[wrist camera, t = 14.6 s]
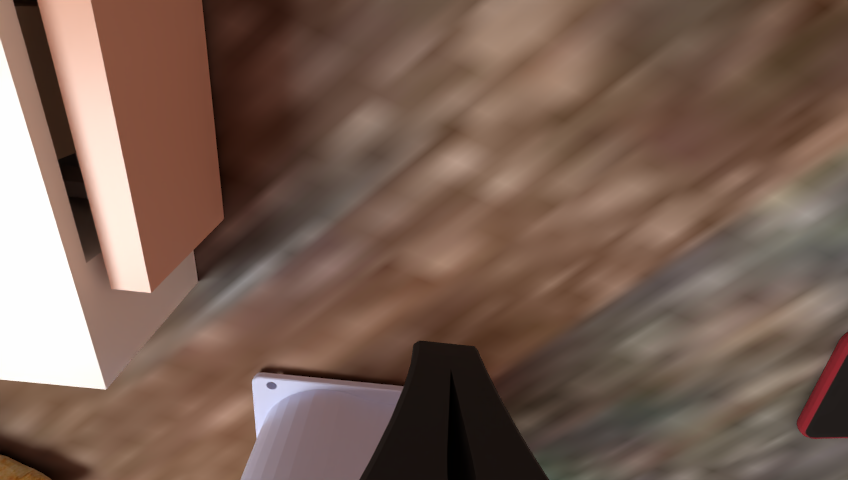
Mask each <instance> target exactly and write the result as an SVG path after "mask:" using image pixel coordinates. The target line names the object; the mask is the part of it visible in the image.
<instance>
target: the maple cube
mask: <svg viewBox="0 0 848 480" xmlns="http://www.w3.org/2000/svg"><path fill="white" fill-rule="evenodd" d="M13 2H14V6H15V10H16V13H17V17H18V20H19V24H20V28H21V31H22V35H23V38H24V42H25V45H26V49H27V53H28V56H29V60H30V63H31V67H32V70H33V74H34V78H35V81H36V85H37V88H38V92H39V95H40V99H41V103H42V106H43V110H44V113H45V117H46V121H47V124H48V128H49V131H50V135H51V138H52V142H53V146H54V149H55V153H56V156H57V160H59V159H61V158H63V157H66V156H68V155H71V154H73V153H76V150H75V146H74V142H73V138H72V134H71V130H70V126H69V122H68V118H67V114H66V111H65V107H64V103H63V99H62V95H61V91H60V87H59V83H58V79H57V76H56V72H55V68H54V64H53V60H52V56H51V52H50V48H49V44H48V40H47V37H46V33H45V29H44V25H43V21H42V17H41V13H40V9H39V5H38V1H37V0H13Z"/></svg>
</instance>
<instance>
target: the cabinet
mask: <svg viewBox="0 0 848 480" xmlns="http://www.w3.org/2000/svg"><path fill="white" fill-rule="evenodd" d="M197 282H198V278H197V271H196V264H195V257H194V250H193V251H192V252H191V253H190V254H189V255H188V256H187V257H186V258H185V259H184V260H183V261H182V262H181V263H180V264H179V265H178V266H177V267H176V268H175V269H174V270H173V271H172V272H171V273H170V274H169V275H168V276H167V277H166V278H165V279H164V280H163V281H162V282H161V283H160V285H159V286H158V287H157V288H156V289H155V290H154V291H153V292H152V293H146V292H136V291H127V290H117V289H111V286H110V282H109V278H108V274H107V270H106V266H105V263H104V259H103V255H102V251H101V247H100V243H99V239H98V235H97V231H96V227H95V224H94V220H93V216H92V212H91V208H90V204H89V200H88V199H86V198H77V197H68V196H67V192H66V189H65V185H64V181H63V178H62V174H61V171H60V167H59V163H58V160H57V156H56V153H55V149H54V146H53V142H52V138H51V135H50V131H49V128H48V124H47V121H46V117H45V113H44V110H43V106H42V103H41V99H40V95H39V92H38V88H37V85H36V81H35V78H34V74H33V70H32V67H31V63H30V60H29V56H28V53H27V49H26V45H25V42H24V38H23V35H22V31H21V28H20V24H19V20H18V17H17V13H16V10H15V6H14V2H13V0H0V379H2V380H13V381H23V382H34V383H44V384H55V385H65V386H75V387H86V388H96V389H107V388H108V387H109V386H110V385H111V383H112V382H113V381H114V380H115V379H116V377H117V376H118V375H119V374H120V373H121V372H122V370H123V369H124V368H125V367H126V366H127V365H128V363H129V362H130V361H131V360H132V359H133V358H134V356H135V355H136V354H137V353H138V352H139V350H140V349H141V348H142V347H143V346H144V345H145V343H146V342H147V341H148V340H149V339H150V338H151V336H152V335H153V334H154V333H155V332H156V331H157V329H158V328H159V327H160V326H161V325H162V324H163V322H164V321H165V320H166V319H167V318H168V316H169V315H170V314H171V313H172V312H173V311H174V309H175V308H176V307H177V306H178V305H179V304H180V302H181V301H182V300H183V299H184V298H185V297H186V295H187V294H188V293H189V292H190V291H191V289H192V288H193V287H194V286H195V285H196V284H197Z"/></svg>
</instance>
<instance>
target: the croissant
mask: <svg viewBox="0 0 848 480" xmlns="http://www.w3.org/2000/svg"><path fill="white" fill-rule="evenodd" d="M0 480H52V479H50V478H49V477H47V476H46V475H44V474H43V473H41V472H39V471H37V470H35V469H33V468H30V467H28V466H26V465H23V464H21V463H19V462H17V461H15V460H13V459H11V458H9V457H7V456H4V455H0Z"/></svg>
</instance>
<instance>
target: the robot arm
mask: <svg viewBox="0 0 848 480" xmlns="http://www.w3.org/2000/svg"><path fill="white" fill-rule="evenodd" d="M271 382H274V383H275V384H274V383H271ZM252 389H253V401H254V412H255V424H256V436H257V440H256V442H255V445H254V447H253V450H252V452H251V455H250V457H249V460H248V462H247V465H246V467H245V470H244V472H243V475H242V477H241V480H549V479H548V477H547V476H546V474H545V473H544V471H543V470H542V468H541V466H540V465H539V463H538V462H537V460H536V459H535V457H534V456H533V454H532V452H531V451H530V449H529V447H528V446H527V444H526V442H525V441H524V439H523V438H522V436H521V434H520V432H519V431H518V429H517V427H516V425H515V424H514V422H513V420H512V418H511V416H510V415H509V413H508V411H507V409H506V408H505V406H504V404H503V402H502V400H501V398H500V396H499V394H498V392H497V390H496V388H495V386H494V384H493V382H492V380H491V378H490V376H489V374H488V372H487V370H486V368H485V366H484V363H483V361H482V359H481V357H480V354H479V352H478V350H477V349H476V348H475V347H474V346H466V345H457V344H447V343H437V342H428V341H418V342H416V343H415V344H414V346H413V353H412V360H411V365H410V369H409V372H408V375H407V378H406V381H405V384H404V386H396V385H386V384H376V383H366V382H356V381H346V380H335V379H325V378H315V377H305V376H295V375H285V374H275V373H265V372H262V373H257V374H256V375H255V376H254V378H253V380H252Z"/></svg>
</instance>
